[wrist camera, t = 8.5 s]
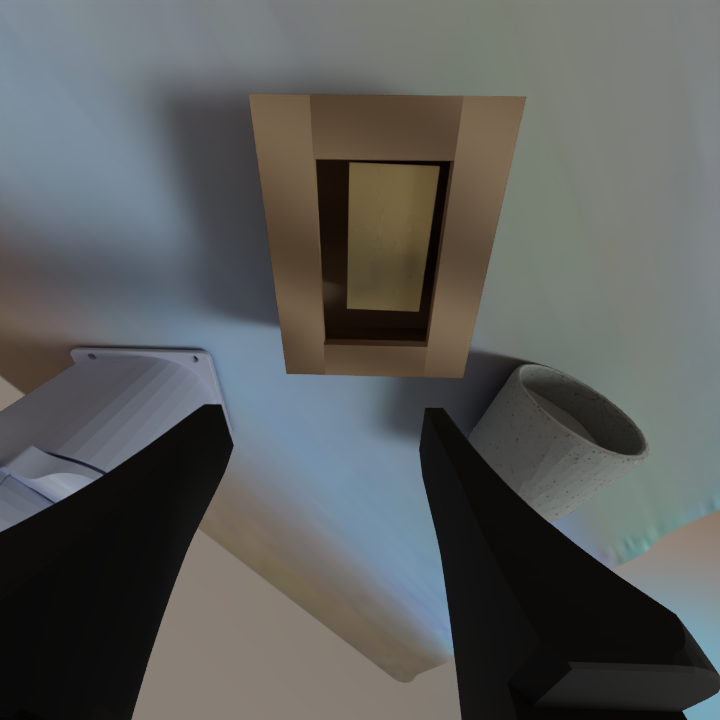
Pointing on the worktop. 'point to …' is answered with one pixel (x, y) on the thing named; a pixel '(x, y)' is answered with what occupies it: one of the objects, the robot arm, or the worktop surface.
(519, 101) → the walnut box
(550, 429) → the ceramic mug
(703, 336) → the worktop surface
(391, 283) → the yellow rectangular block
